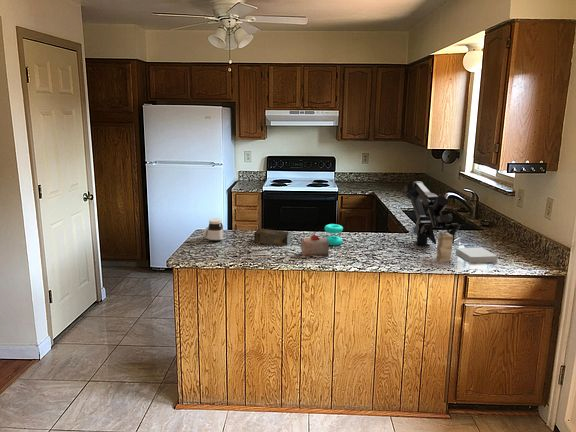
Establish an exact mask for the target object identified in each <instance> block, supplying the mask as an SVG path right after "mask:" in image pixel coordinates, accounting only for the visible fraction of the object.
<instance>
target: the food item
mask: <svg viewBox="0 0 576 432" xmlns="http://www.w3.org/2000/svg"><path fill="white" fill-rule="evenodd" d="M329 246H330V245H329V242H328V239H327V238H326V237H319V236H318V235H316V234H313V235H312V236H310V237H309V238H307V237H306V238H303V239H302V240H301V241H300V250H301V253H302V255H303V256H304V257H312V256H315V257H316V255H317V257H318V256H321V255H323V256H329V255H330V253H329V252H330V251H329Z"/></svg>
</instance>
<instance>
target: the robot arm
mask: <svg viewBox="0 0 576 432" xmlns="http://www.w3.org/2000/svg"><path fill="white" fill-rule="evenodd" d="M403 193H404V195H405V196H406V198H407V199H409V200H410V202H411V205H412V208H413V211H414V214H415V217H416V220H417V221H416V222H415V226H414V227H413V234H415V235H416V240H415V241H413V243H414V245H416V246H418V247H429V246H430V244H429V243H428V239H429V240H430V241H431V242H432V243H433V244H434V245H437V240H436V237H435V234H434V231H447V233H449V234H451V235H452V236H453V242H452V245H454V242H455V234H456V233H457V232H458V231H459V229H460V228H461V226H460V224H459V223H450V222H451V221H453V219H454V218H453V215H452V213H448V214H445V215H444V214H442V212H443V211H444V210H445V208H446V207H447V205H448V204H449V200H448V199H447V198H446V197H445V196H443V194H436V193H433V192H431V191H430V190H429V189H428V188H427V186H425V184H424V182H423V181H418V180H417V181H412V182H411V183H409V184H405V186H404V187H403ZM420 197H421V198H422V201H423V203H424V205H425V206H431V207H430V208H429V209H428V211H427V213H429V215H430V217H427V216H426V215H425V212H424V209H423V207H422V204H421V199H420ZM448 223H450V224H449V225H448Z"/></svg>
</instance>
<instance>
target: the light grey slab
mask: <svg viewBox="0 0 576 432" xmlns="http://www.w3.org/2000/svg"><path fill="white" fill-rule="evenodd" d="M455 255H457V256H458V257H460V258H462V259H463V260H464V261H466V262H468V263H469V264H478V263H481V264H482V263H497V261H498V255H496V254H494V253H493V252H491V251H489V250H487V249H485V248H484V247H482V246H481V247H457V248H456V249H455Z"/></svg>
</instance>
